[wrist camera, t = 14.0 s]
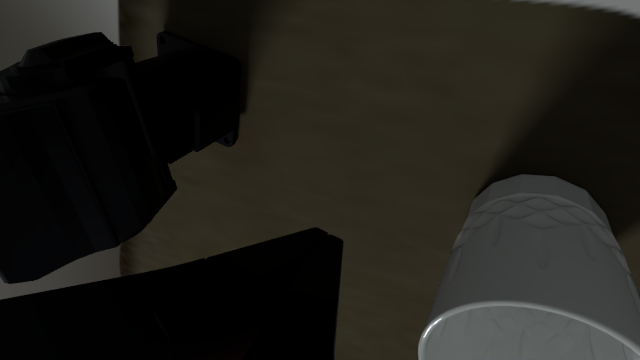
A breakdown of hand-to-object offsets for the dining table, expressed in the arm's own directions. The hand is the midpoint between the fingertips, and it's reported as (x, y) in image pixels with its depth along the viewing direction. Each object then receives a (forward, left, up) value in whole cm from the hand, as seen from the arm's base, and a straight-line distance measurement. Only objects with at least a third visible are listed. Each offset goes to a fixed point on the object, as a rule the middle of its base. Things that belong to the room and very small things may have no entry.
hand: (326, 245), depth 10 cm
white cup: (+8, -5, -13) cm, 16 cm away
